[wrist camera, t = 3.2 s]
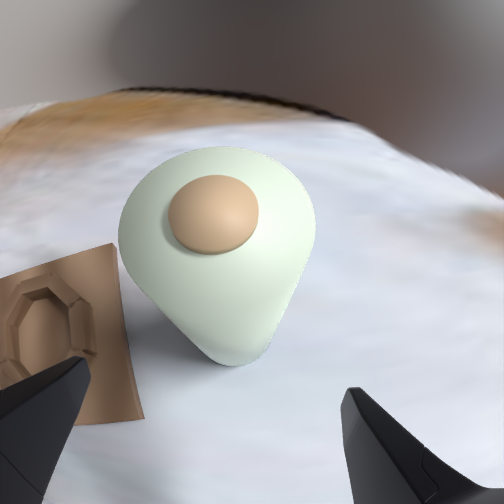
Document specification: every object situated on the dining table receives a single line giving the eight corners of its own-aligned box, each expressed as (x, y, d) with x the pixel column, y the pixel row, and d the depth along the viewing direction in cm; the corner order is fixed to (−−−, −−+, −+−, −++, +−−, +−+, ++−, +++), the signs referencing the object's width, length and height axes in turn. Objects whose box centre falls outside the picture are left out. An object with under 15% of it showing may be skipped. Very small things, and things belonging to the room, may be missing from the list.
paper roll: (206, 374, 19) (124, 336, 6) (188, 302, 21) (114, 165, 8) (282, 353, 19) (351, 274, 7) (259, 284, 22) (276, 128, 9)
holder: (13, 424, 15) (-7, 423, 12) (4, 283, 21) (-13, 271, 18) (144, 418, 17) (130, 421, 14) (116, 248, 23) (103, 231, 20)
